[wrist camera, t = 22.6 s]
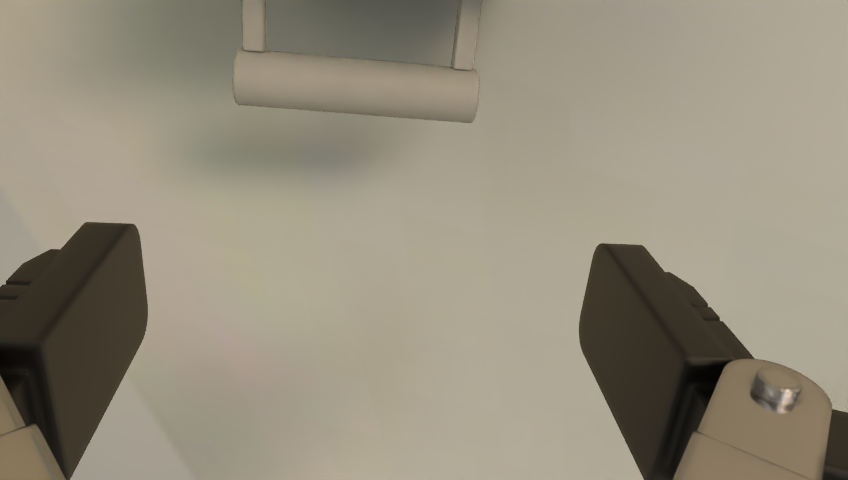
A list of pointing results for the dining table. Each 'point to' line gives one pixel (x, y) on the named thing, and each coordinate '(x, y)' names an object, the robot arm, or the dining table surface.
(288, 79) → the box with handle
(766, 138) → the dining table surface
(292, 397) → the dining table surface
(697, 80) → the dining table surface
